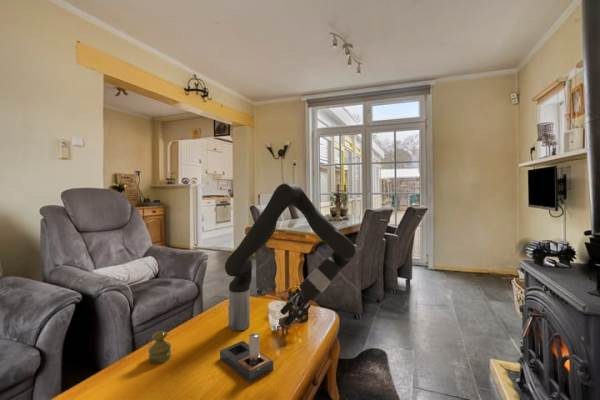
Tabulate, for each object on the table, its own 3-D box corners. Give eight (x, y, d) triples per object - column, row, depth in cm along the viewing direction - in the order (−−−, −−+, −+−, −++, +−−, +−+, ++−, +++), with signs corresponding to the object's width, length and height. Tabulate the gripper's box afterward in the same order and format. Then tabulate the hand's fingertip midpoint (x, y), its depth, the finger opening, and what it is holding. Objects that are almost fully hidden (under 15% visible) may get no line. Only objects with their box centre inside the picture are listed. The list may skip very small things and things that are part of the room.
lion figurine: (296, 336, 122) (297, 315, 122) (286, 340, 119) (286, 319, 119) (278, 323, 134) (278, 304, 133) (268, 327, 131) (268, 307, 130)
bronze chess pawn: (155, 352, 109) (155, 327, 109) (174, 353, 109) (174, 327, 109) (144, 364, 102) (143, 336, 102) (164, 364, 102) (164, 337, 101)
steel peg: (246, 369, 99) (246, 335, 99) (255, 365, 102) (255, 332, 101) (253, 374, 97) (252, 339, 96) (261, 369, 99) (261, 335, 99)
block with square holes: (220, 358, 106) (220, 349, 106) (242, 348, 113) (242, 339, 113) (249, 382, 92) (249, 372, 92) (273, 369, 99) (273, 360, 99)
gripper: (303, 271, 109) (273, 303, 107) (313, 283, 95) (279, 320, 93) (316, 284, 110) (287, 316, 108) (328, 298, 97) (295, 334, 94)
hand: (283, 318), depth 101 cm, fingers open, 8 cm apart
